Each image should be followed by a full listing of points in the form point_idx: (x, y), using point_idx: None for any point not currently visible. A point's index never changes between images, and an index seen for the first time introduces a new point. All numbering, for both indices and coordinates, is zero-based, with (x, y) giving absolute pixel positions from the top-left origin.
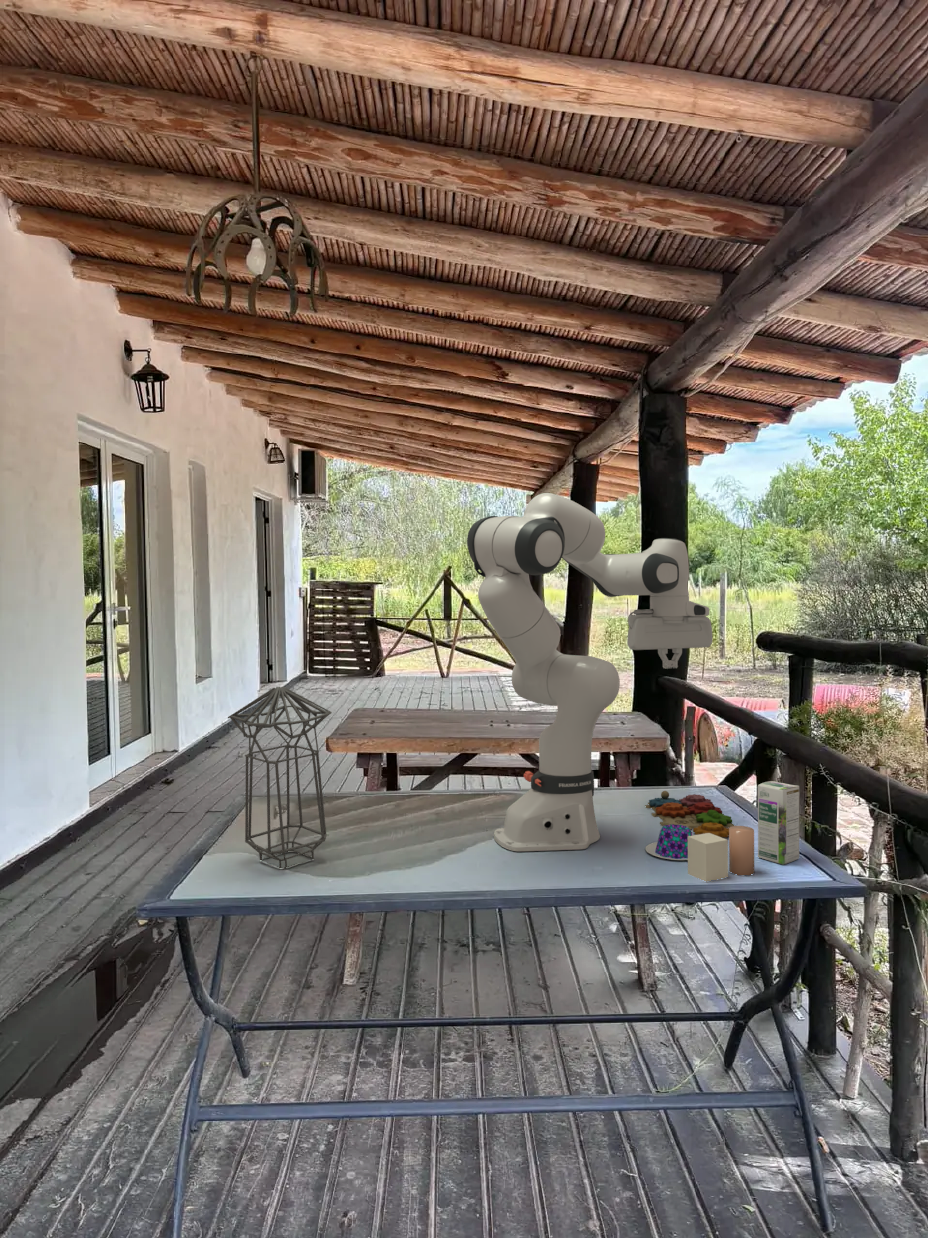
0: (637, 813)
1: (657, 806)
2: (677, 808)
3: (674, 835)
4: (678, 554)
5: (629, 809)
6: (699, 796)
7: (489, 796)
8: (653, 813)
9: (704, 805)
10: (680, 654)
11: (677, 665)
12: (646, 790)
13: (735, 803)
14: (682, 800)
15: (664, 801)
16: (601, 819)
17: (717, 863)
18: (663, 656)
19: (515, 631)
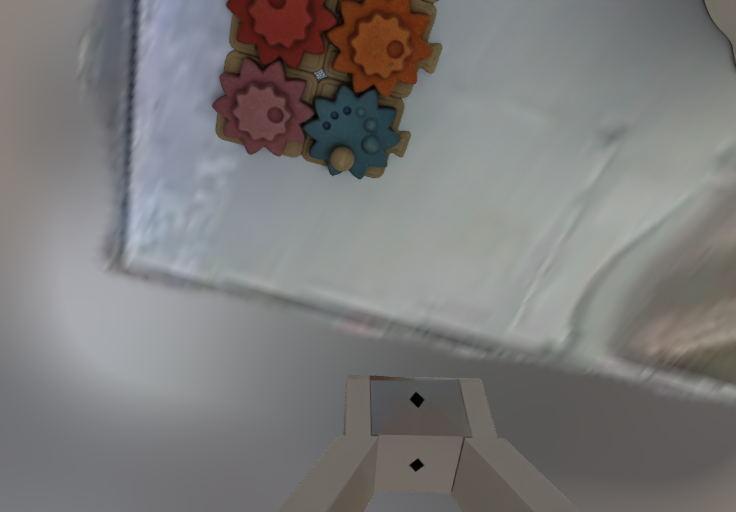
0: (461, 98)
1: (393, 109)
2: (381, 14)
3: None
4: None
5: (458, 143)
6: (250, 108)
7: (684, 350)
8: (431, 65)
9: (287, 1)
10: (300, 501)
11: (348, 388)
12: (314, 288)
13: (131, 95)
14: (299, 127)
15: (361, 126)
16: (590, 78)
17: None
18: (556, 488)
19: None
